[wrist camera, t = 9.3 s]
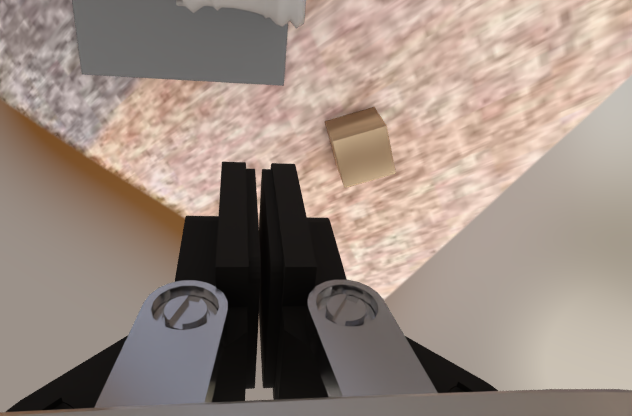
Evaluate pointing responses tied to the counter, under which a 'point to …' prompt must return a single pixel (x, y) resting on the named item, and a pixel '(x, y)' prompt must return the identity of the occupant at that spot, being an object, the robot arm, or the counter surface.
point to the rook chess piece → (257, 8)
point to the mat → (178, 42)
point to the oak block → (360, 147)
